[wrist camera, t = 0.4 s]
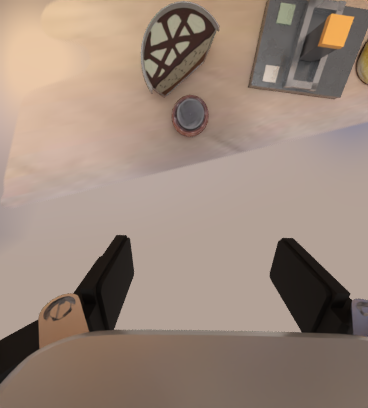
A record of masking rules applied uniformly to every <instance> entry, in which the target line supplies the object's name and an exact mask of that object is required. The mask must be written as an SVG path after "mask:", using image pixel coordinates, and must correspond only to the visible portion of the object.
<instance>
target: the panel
mask: <svg viewBox="0 0 368 408" xmlns="http://www.w3.org/2000/svg"><path fill="white" fill-rule="evenodd" d="M345 4H346V2H345V1H333V0H268V1H267V3H266V8H265V13H264V17H263V22H262V26H261V31H260V36H259V40H258V45H257V50H256V54H255V59H254V63H253V68H252V73H251V77H250V82H249V86H248V87H249V88H256V89H264V90H271V91H279V92H286V93H294V94H301V95H308V96H316V97H323V98H331V99H335V98H340V97H341V94H342V92H343V89H344V87H345V84H346V82H347V79H348V77H349V74H350V72H351V69H352V66H353V64H354V61H355V59H356V56H357V54H358V51H359V49H360V46H361V44H362V41H363V39H364V36H365V34H366V31H367V29H368V10H366V9H360V8H353V7H347V6H345ZM330 14H339V15H345V16H352V17H354V19H353V22H352V25H351V28H350V30H349V33H348V36H347V38H346V41H345V44H344V47H342V48H340V49H337V50H335V51H333V52H331V53H329V54H328V55H326V56H324V57H322V58H321V59H319V60H317V61H315V62H311V61H304V60H299V58H300V54H301V51H302V47H303V44H304V41H305V37H306V36H307V35H308V34H309V33H310V32H311V31H313V30H314V29H315V28H316V27H318V26H319V25H320V24H321V23H322V22H324V21H325V20H326V19H327V17H328V16H329V15H330Z"/></svg>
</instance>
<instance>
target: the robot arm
mask: <svg viewBox="0 0 368 408" xmlns="http://www.w3.org/2000/svg"><path fill="white" fill-rule="evenodd" d="M133 276H134V268H133V260H132V252H131V244H130V238H127V236H126V235H116V237H115V238H114V240H113V241H112V242H111V244H110V246H109V247H108V248H107V250H106V251H105V253H104V254H103V256H101V257H99V258H98V260H97V261H96V262H95V264H94V265H93V266H92V268H91V270H90V271H89V272H88V273H87V275H86V276H85V278H84V279H83V281H82V282H81V283H80V285H79V286H78V288H77V289H76V291H75V292H74V293H73V294H72V293H70V294H69V293H68V294H63V295H61V296H58V297H56V298H55V299H53V300H51V301H50V302H49V303H47V304H46V305H45V306H44V307H43V309H42V310H41V312H40V314H39V318H38V320H37V321H35V322H33V323H31V324H29V325H27V326H25V327H24V328H22V329H20V330H18V331H16V332H14V333H13V334H11V335H9V336H7V337H5V338H4V339H2V340H0V408H368V300H364V299H354V300H351V299H350V298H349V296H350V293H349V292H348V291H347V290H346V289H345V288H344V287H343V286H342V285H341V284H340V283H339V282H338V281H337V280H336V279H335V278H334V277H333V276H332V275H331V274H330V273H328V271H326V270H325V269H324V268H323V267H322V266H321V265H320V264H319V263H318V262H317V261H316V260H315V259H314V258H313V257H312V256H311V255H310V254H309V253H308V252H307V251H306V250H305V249H304V248H303V247H302V246H301V245H299V244H298V243H297V242H296V241H295V240H294V239H293V238H282V239H281V240H280V241H279V242H278V244H277V248H276V252H275V256H274V260H273V263H272V267H271V271H270V278H271V280H272V282H273V284H274V286H275V287H276V289H277V291H278V292H279V294H280V296H281V298H282V299H283V301H284V302H285V304H286V306H287V308H288V309H289V311H290V313H291V315H292V316H293V318H294V320H295V321H296V323H297V325H298V326H299V328H300V330H301V332H302V333H299V332H259V331H207V330H205V331H204V330H114V328H115V325H116V322H117V319H118V317H119V314H120V311H121V308H122V306H123V303H124V300H125V298H126V295H127V292H128V290H129V287H130V284H131V281H132V279H133Z"/></svg>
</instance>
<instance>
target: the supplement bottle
mask: <svg viewBox="0 0 368 408" xmlns="http://www.w3.org/2000/svg"><path fill="white" fill-rule="evenodd" d="M208 115H209V114H208V109H207V106H206V104H205V102H204V101H203V100H202V99H201V98H199V97H198V96H194V95H187V96H184V97H182V98H180V99H179V100H178V101H177V102H176V104H175V105H174V108H173V111H172V122H173V125H174V127H175V128H176V130H177V131H178V132H179V133H180V134H182V135H184V136H188V137H191V136H195V135H198V134H199V133H201V132H202V131H203V130H204V128H205V127H206V125H207V122H208V117H209V116H208Z"/></svg>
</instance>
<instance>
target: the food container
mask: <svg viewBox="0 0 368 408" xmlns="http://www.w3.org/2000/svg"><path fill="white" fill-rule="evenodd" d="M216 31H219V25H218V23H217V22H216V20H215V18H214V17H213V16H212V15H211V14H210V13H209V12H208V11H207V10H206V9H205V8H203V7H202V6H200V5H198V4H195V3H192V2H185V1H181V2H175V3H172V4H169V5H167V6H166V7H164V8H162V9H161V10H160V11H159V12H158V13H157V14H156V15H155V16H154V18H153V19H152V20H151V22H150V23H149V25H148V27H147V29H146V32H145V34H144V37H143V41H142V47H141V65H142V71H143V76H144V79H145V82H146V84H147V87H148V89H149V90H150V92H151V94H152V89H153V90H155V91H156V92H158V93H159V94H160V95H162V96H163V97H166V96H167V95H168V94H169V93H170V92H172V91H173V90H174V89H175V88H176V87H177V86H178V85H179V84H180V83H181V82H183V81H184V80H185V79H186V78H187V77H188V76H189V75H190V74H191V73H193V72H194V71H195V70H196V69H197V68H198V67H199V66H200V65H201V64H202V63H204V61H205V59H206V56H207V54H208V51H209V48H210V46H211V43H212V41H213V38H214V36H215V33H216Z"/></svg>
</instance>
